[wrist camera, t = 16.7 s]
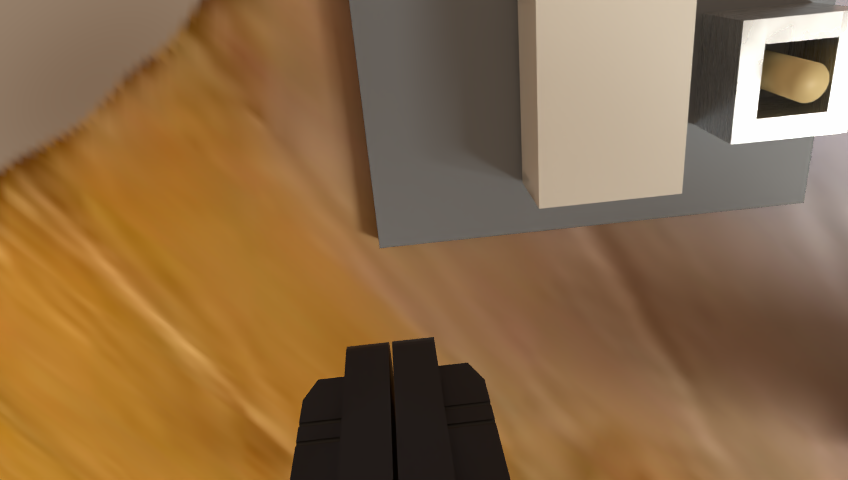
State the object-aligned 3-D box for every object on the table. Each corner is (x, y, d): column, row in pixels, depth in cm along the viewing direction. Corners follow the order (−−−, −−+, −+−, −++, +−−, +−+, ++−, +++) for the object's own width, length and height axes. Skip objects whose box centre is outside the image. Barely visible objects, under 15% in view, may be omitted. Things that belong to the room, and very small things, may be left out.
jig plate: (791, 195, 38) (864, 237, 32) (379, 239, 37) (380, 290, 32) (837, -116, 32) (938, -131, 26) (341, -70, 31) (334, -75, 25)
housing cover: (651, 169, 35) (682, 193, 32) (522, 182, 35) (539, 208, 32) (662, -31, 31) (698, -29, 28) (517, -17, 31) (535, -13, 28)
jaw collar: (796, 113, 35) (845, 132, 31) (693, 124, 35) (730, 144, 31) (812, 2, 33) (868, 8, 29) (702, 13, 33) (743, 20, 29)
